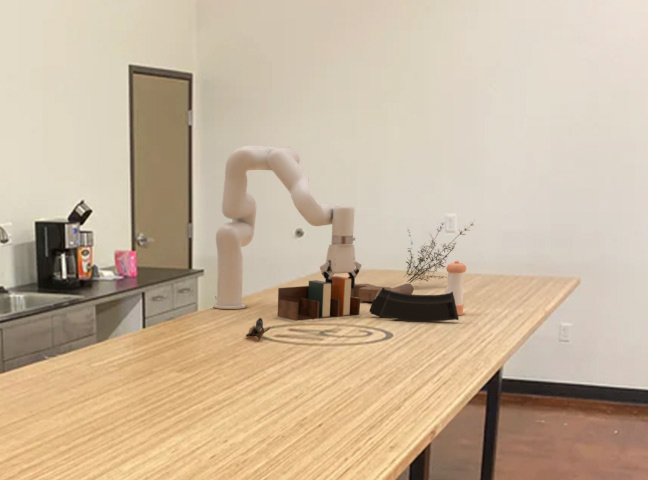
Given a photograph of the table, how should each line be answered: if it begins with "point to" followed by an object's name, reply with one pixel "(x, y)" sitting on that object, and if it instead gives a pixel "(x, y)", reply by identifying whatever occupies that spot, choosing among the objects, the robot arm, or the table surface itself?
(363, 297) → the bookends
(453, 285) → the pepper shaker
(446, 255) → the dried plant
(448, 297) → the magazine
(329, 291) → the green book
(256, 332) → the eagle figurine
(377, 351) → the table surface
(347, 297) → the orange book
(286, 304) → the book rack
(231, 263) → the robot arm
